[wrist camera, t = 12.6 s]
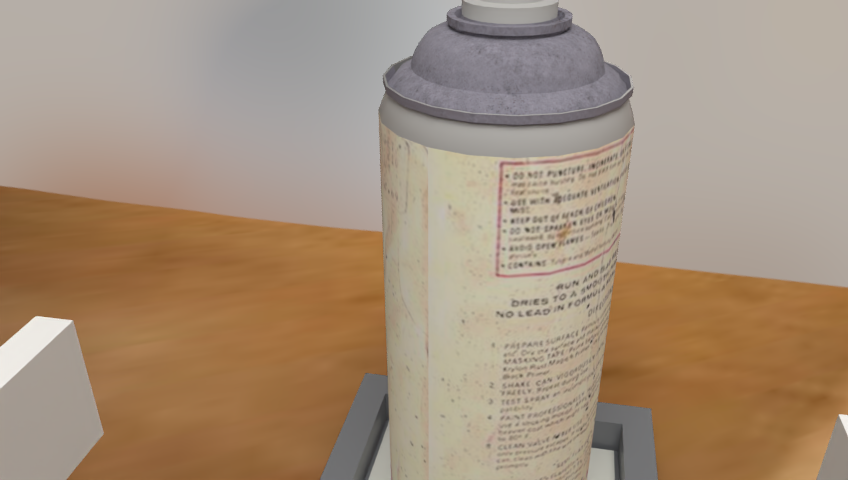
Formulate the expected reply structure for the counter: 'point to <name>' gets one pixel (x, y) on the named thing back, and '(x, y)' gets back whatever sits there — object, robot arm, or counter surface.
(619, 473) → the tray
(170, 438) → the counter surface
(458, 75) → the aerosol can
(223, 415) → the counter surface
